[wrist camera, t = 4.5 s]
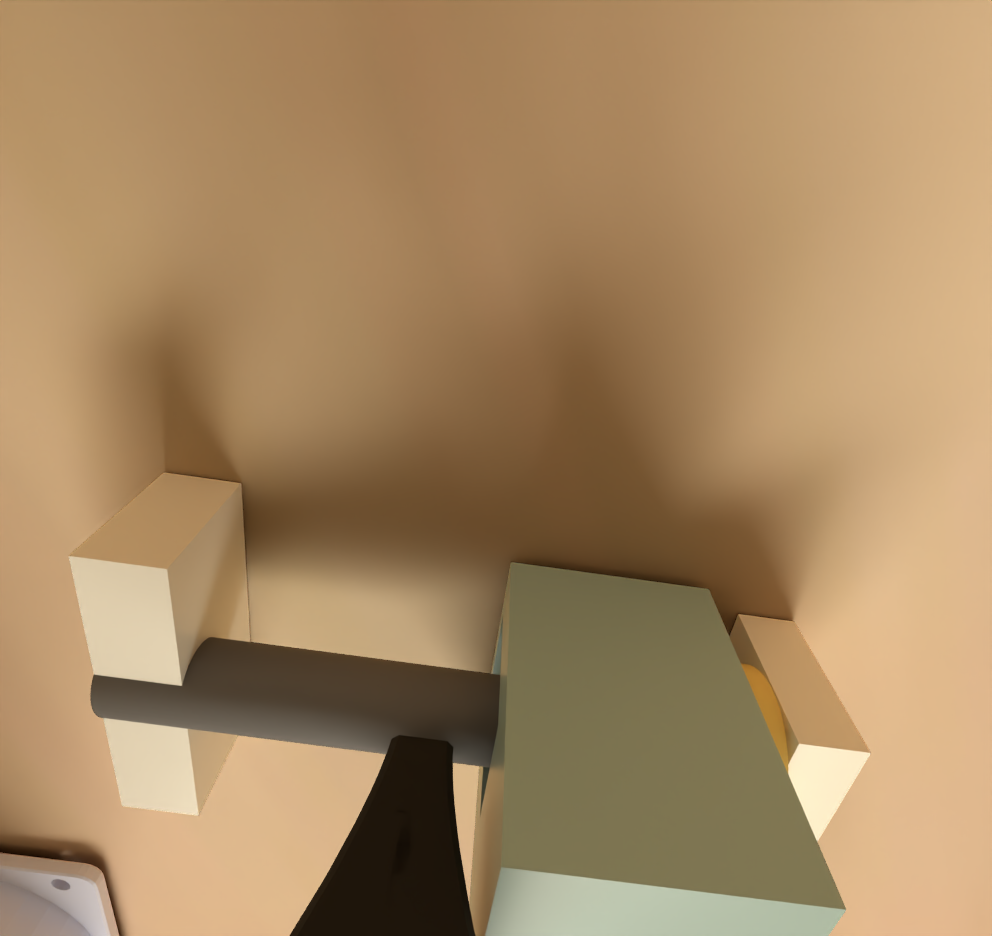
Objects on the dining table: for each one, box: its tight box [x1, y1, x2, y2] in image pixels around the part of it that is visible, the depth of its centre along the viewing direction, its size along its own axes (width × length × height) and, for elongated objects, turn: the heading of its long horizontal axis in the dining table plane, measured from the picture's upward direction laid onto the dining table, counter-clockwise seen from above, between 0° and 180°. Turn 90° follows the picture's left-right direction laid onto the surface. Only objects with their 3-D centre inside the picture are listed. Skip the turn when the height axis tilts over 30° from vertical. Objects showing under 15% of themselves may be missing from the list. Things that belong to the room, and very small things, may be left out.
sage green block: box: [469, 562, 846, 936], centre depth 11 cm, size 4×4×6 cm
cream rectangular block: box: [69, 472, 250, 816], centre depth 12 cm, size 2×6×3 cm, turn 173°
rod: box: [91, 637, 788, 773], centre depth 11 cm, size 13×3×3 cm, turn 82°
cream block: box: [729, 614, 871, 842], centre depth 12 cm, size 1×3×3 cm, turn 173°
